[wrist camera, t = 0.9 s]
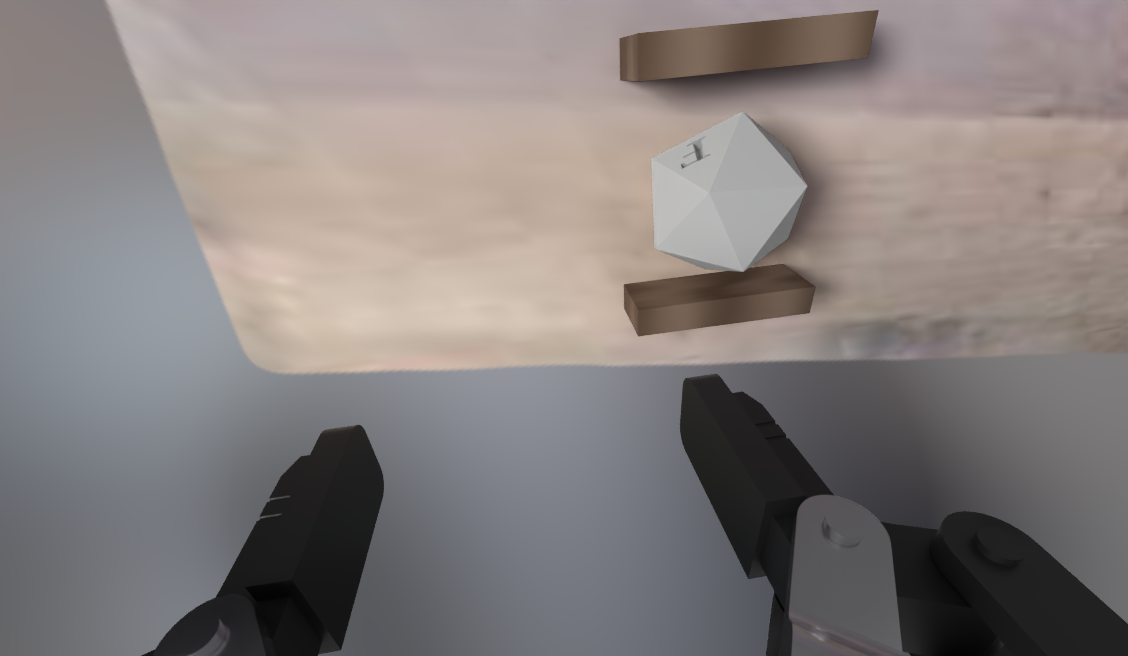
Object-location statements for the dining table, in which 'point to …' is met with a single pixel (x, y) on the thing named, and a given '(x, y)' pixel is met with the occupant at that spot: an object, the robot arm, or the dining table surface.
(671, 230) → the die
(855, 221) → the dining table surface
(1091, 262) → the dining table surface
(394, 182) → the dining table surface
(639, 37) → the pair of wooden rails
